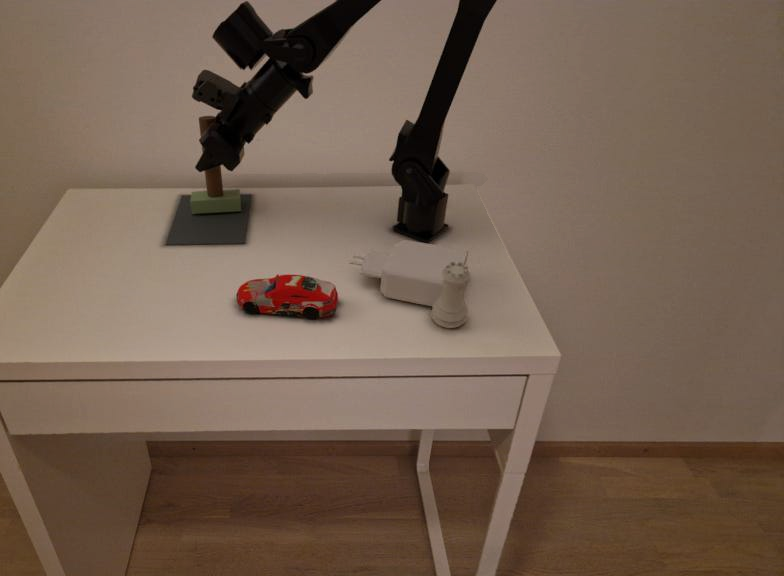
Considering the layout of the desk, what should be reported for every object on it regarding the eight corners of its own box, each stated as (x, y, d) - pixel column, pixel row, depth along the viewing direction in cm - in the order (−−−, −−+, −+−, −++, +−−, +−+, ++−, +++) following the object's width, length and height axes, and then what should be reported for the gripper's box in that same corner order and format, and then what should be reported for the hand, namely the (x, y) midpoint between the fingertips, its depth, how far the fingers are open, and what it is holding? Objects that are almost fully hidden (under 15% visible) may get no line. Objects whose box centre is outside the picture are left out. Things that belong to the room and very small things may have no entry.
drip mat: (244, 244, 90) (244, 242, 90) (165, 245, 90) (165, 243, 90) (251, 195, 103) (251, 194, 103) (182, 196, 103) (181, 195, 103)
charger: (360, 258, 86) (463, 277, 82) (339, 291, 80) (451, 314, 75) (361, 228, 83) (469, 247, 79) (340, 260, 77) (457, 282, 72)
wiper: (240, 201, 100) (233, 113, 92) (241, 211, 97) (233, 119, 89) (193, 204, 100) (181, 115, 92) (191, 214, 96) (179, 122, 88)
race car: (232, 313, 76) (229, 287, 74) (243, 290, 80) (240, 265, 78) (333, 323, 74) (334, 297, 72) (339, 299, 78) (340, 273, 76)
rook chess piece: (427, 307, 76) (433, 257, 70) (461, 304, 76) (471, 254, 70) (434, 331, 73) (442, 281, 67) (470, 328, 73) (481, 278, 67)
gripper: (235, 36, 90) (176, 109, 99) (206, 69, 76) (139, 151, 84) (288, 92, 95) (226, 157, 103) (269, 133, 81) (200, 205, 89)
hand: (199, 166), depth 95 cm, fingers closed on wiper, 2 cm apart
